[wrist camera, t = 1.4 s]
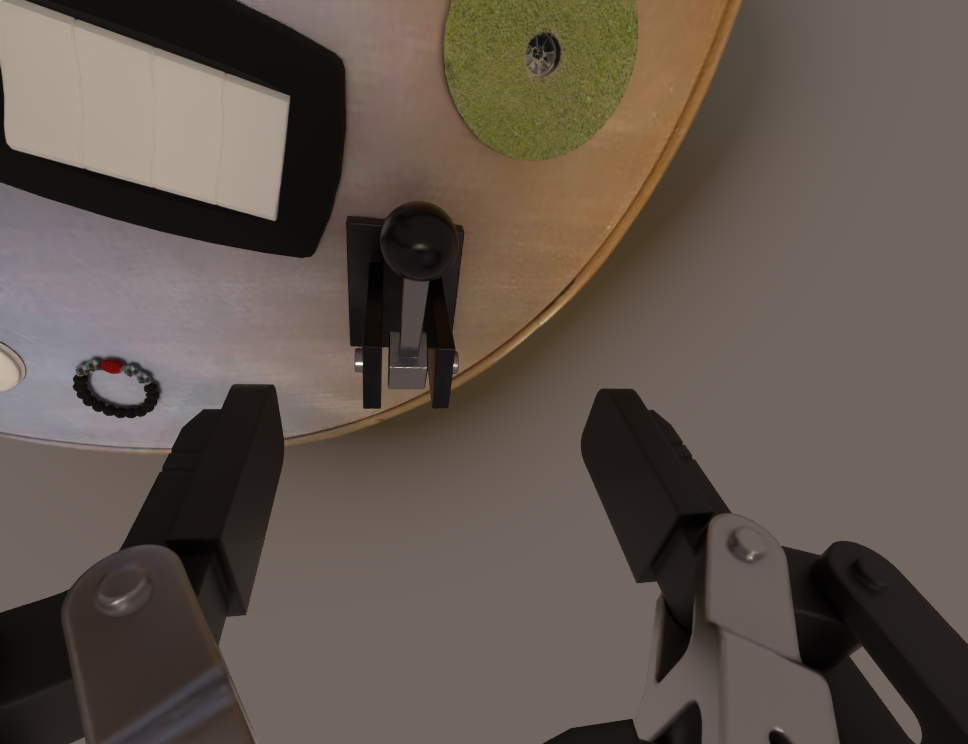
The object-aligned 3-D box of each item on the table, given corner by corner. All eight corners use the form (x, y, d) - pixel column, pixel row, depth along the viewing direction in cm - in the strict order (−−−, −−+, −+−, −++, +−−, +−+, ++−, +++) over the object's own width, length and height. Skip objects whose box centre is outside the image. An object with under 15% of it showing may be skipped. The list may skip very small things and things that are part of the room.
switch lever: (381, 179, 18) (379, 241, 17) (462, 187, 19) (467, 247, 17) (380, 349, 29) (379, 395, 28) (431, 350, 30) (432, 395, 28)
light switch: (-50, 192, 26) (-174, -162, 17) (-16, 173, 28) (-111, -150, 19) (320, 281, 32) (360, 56, 24) (325, 260, 34) (364, 46, 26)
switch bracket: (347, 215, 32) (329, 297, 23) (462, 225, 33) (490, 305, 24) (351, 338, 38) (338, 443, 28) (449, 341, 39) (467, 441, 30)
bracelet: (159, 363, 36) (154, 371, 35) (163, 417, 39) (158, 425, 38) (71, 350, 34) (63, 358, 34) (82, 407, 37) (75, 416, 37)
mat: (434, 144, 30) (437, 151, 28) (449, -99, 23) (453, -107, 22) (596, 161, 32) (606, 169, 31) (651, -55, 26) (668, -60, 24)
